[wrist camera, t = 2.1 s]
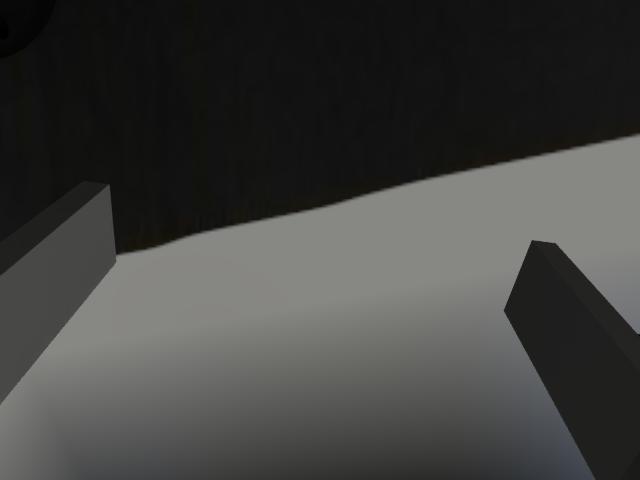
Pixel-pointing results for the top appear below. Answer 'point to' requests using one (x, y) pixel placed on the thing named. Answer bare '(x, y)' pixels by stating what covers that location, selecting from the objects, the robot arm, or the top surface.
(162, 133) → the top surface
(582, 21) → the top surface
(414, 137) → the top surface
